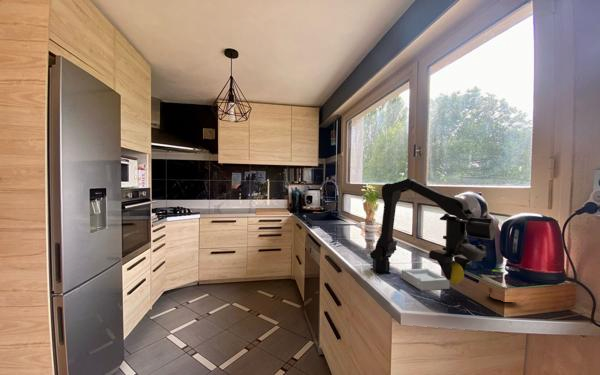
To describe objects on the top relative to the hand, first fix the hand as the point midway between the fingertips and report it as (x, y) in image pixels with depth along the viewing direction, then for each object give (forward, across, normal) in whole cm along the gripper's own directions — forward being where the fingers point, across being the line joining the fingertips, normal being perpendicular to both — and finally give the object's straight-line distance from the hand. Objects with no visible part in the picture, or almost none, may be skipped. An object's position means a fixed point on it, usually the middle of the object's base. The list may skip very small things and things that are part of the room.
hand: (454, 278), depth 82 cm
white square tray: (+6, 0, +12) cm, 14 cm away
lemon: (+2, 0, 0) cm, 2 cm away
